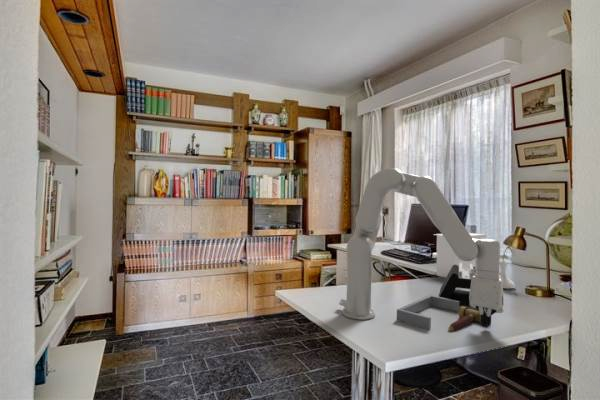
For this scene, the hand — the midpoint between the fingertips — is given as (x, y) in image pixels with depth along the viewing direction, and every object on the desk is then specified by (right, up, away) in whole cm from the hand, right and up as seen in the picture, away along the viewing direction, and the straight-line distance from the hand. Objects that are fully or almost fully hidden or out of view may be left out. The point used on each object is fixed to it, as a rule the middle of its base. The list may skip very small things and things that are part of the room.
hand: (485, 325), depth 122 cm
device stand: (+11, -2, +38) cm, 39 cm away
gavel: (-6, -2, +5) cm, 8 cm away
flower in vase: (+42, -2, +60) cm, 73 cm away
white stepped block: (+38, -2, +94) cm, 102 cm away
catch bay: (-15, -1, +14) cm, 21 cm away
